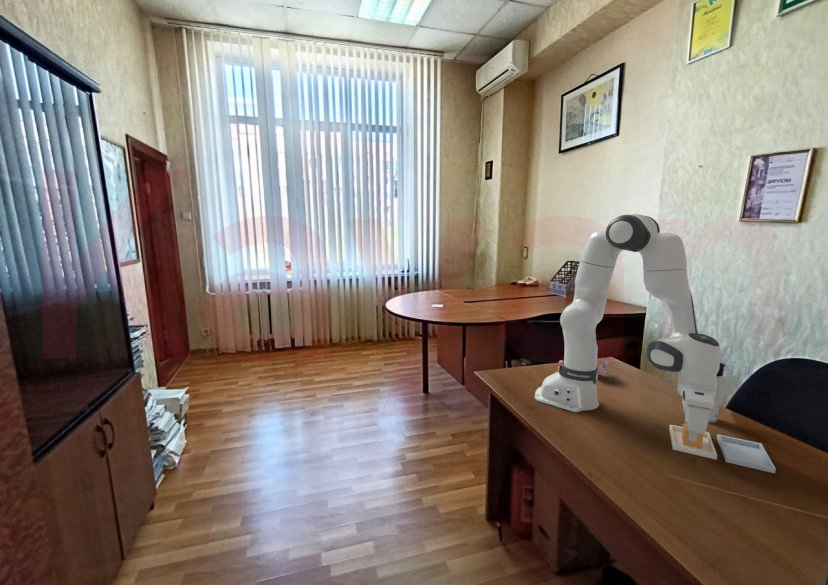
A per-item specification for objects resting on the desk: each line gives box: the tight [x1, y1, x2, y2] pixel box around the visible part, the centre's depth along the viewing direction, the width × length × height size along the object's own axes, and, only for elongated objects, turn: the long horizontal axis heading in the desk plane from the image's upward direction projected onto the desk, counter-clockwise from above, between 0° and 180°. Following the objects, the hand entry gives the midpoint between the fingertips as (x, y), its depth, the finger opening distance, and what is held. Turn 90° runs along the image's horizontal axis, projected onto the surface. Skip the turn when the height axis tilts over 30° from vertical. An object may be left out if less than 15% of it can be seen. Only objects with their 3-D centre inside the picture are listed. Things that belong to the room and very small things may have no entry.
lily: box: [597, 358, 614, 381], centre depth 158 cm, size 12×12×10 cm
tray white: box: [668, 424, 718, 461], centre depth 110 cm, size 10×13×2 cm
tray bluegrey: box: [716, 433, 777, 474], centre depth 104 cm, size 10×13×2 cm
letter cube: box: [681, 423, 704, 449], centre depth 110 cm, size 4×4×5 cm
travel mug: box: [708, 362, 726, 424], centre depth 122 cm, size 6×7×20 cm
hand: (690, 432), depth 109 cm, fingers open, 8 cm apart
